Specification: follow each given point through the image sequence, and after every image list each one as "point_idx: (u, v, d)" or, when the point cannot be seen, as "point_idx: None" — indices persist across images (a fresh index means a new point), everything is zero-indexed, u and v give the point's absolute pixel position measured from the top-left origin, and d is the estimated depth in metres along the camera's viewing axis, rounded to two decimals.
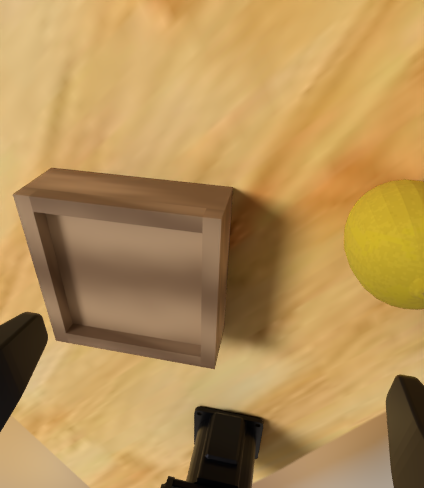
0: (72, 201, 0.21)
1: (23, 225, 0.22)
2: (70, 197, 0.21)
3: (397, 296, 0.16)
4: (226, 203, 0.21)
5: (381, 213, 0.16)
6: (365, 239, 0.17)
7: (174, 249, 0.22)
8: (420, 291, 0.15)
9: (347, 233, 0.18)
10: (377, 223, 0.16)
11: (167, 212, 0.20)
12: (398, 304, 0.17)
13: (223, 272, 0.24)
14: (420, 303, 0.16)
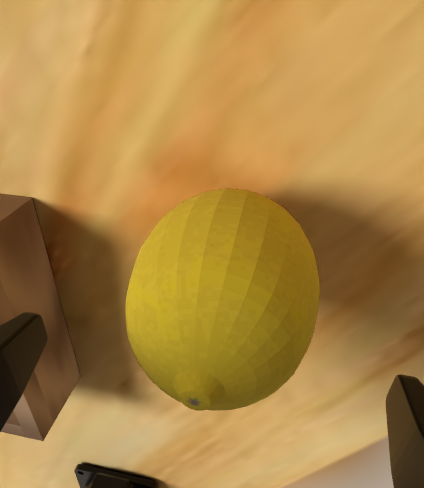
0: None
1: None
2: None
3: (168, 394, 0.09)
4: None
5: (152, 248, 0.10)
6: (129, 292, 0.10)
7: None
8: (183, 396, 0.08)
9: None
10: (142, 266, 0.09)
11: None
12: None
13: None
14: None
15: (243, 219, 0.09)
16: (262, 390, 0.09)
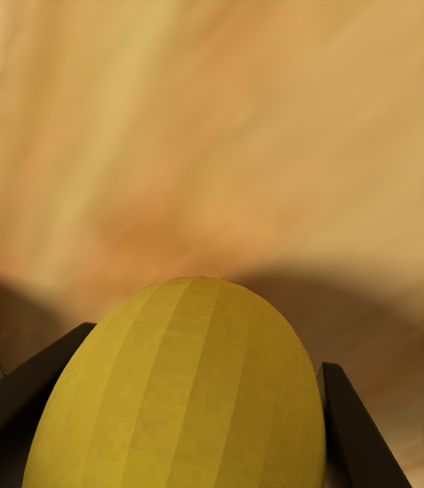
0: None
1: None
2: None
3: None
4: None
5: (61, 404, 0.06)
6: (25, 470, 0.06)
7: None
8: None
9: None
10: (42, 437, 0.06)
11: None
12: None
13: None
14: None
15: (204, 364, 0.06)
16: None
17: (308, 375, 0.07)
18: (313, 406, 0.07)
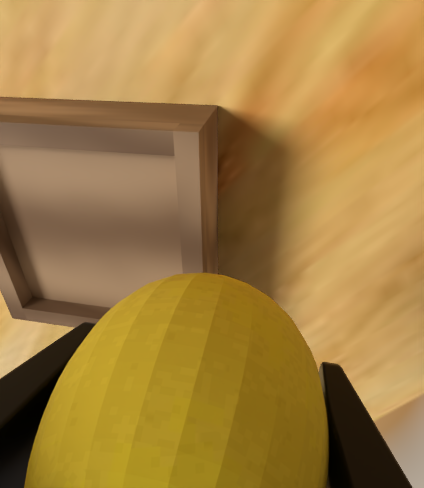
0: (1, 122, 0.16)
1: None
2: (0, 119, 0.16)
3: None
4: (207, 119, 0.16)
5: (64, 397, 0.06)
6: (29, 463, 0.06)
7: (143, 187, 0.17)
8: None
9: None
10: (45, 430, 0.06)
11: (125, 128, 0.15)
12: None
13: (210, 220, 0.18)
14: None
15: (207, 358, 0.06)
16: None
17: (311, 370, 0.07)
18: (316, 401, 0.07)
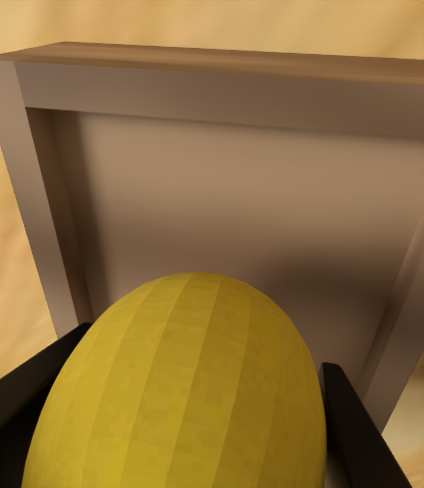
0: (123, 68, 0.08)
1: (2, 146, 0.10)
2: (115, 64, 0.09)
3: None
4: None
5: (62, 396, 0.06)
6: (26, 462, 0.06)
7: (347, 198, 0.10)
8: None
9: None
10: (42, 429, 0.06)
11: (384, 83, 0.07)
12: None
13: None
14: None
15: (204, 356, 0.06)
16: None
17: (309, 369, 0.07)
18: (314, 400, 0.07)
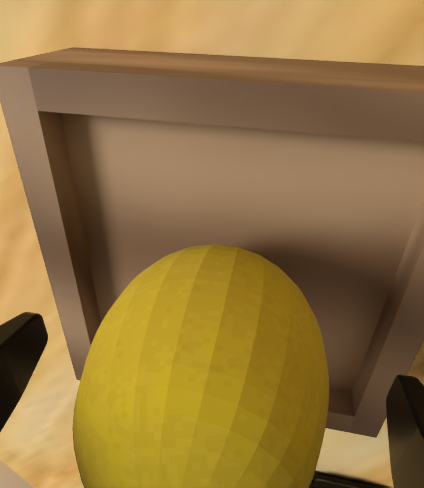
0: (132, 74, 0.09)
1: (15, 148, 0.10)
2: (125, 71, 0.09)
3: None
4: None
5: (109, 339, 0.07)
6: (77, 396, 0.07)
7: (347, 199, 0.10)
8: None
9: None
10: (94, 365, 0.07)
11: (382, 90, 0.08)
12: None
13: None
14: None
15: (229, 303, 0.07)
16: None
17: (313, 322, 0.08)
18: (318, 345, 0.08)
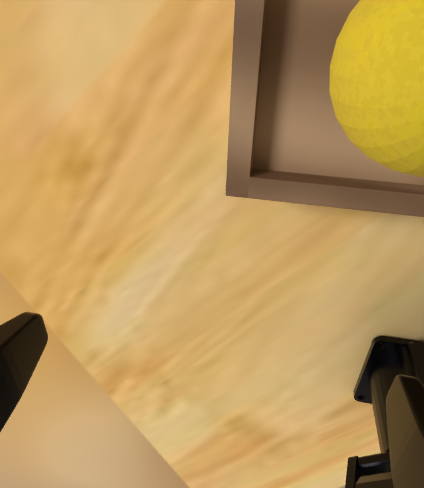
0: None
1: None
2: None
3: None
4: None
5: None
6: (366, 31, 0.09)
7: None
8: None
9: (334, 56, 0.10)
10: None
11: None
12: None
13: None
14: None
15: None
16: None
17: None
18: None
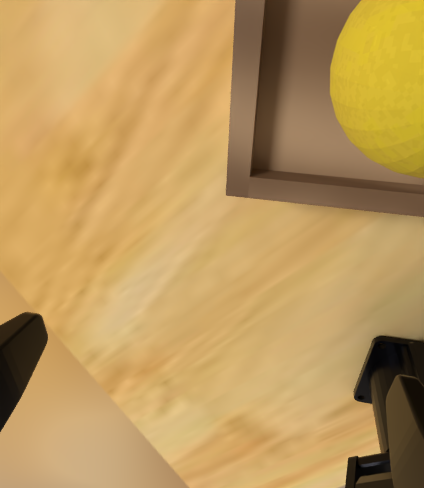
0: None
1: None
2: None
3: None
4: None
5: None
6: (366, 32, 0.09)
7: None
8: None
9: (334, 57, 0.10)
10: None
11: None
12: None
13: None
14: None
15: None
16: None
17: None
18: None
